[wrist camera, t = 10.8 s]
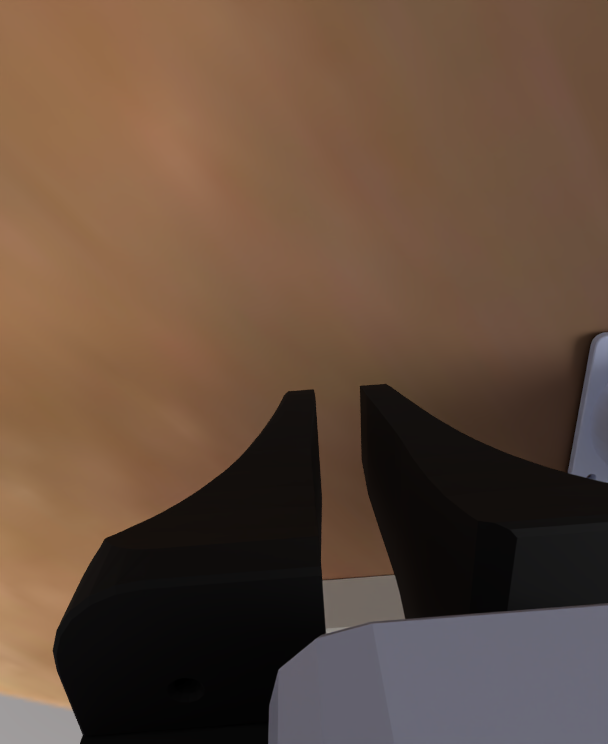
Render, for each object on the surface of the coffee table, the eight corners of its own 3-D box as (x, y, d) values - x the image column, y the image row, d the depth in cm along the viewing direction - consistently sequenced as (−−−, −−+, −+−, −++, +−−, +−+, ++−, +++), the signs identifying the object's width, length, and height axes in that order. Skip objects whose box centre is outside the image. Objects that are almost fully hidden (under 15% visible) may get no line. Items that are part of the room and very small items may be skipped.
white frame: (512, 565, 27) (538, 612, 24) (493, 704, 32) (512, 756, 29) (295, 582, 27) (296, 630, 24) (309, 719, 32) (311, 772, 29)
